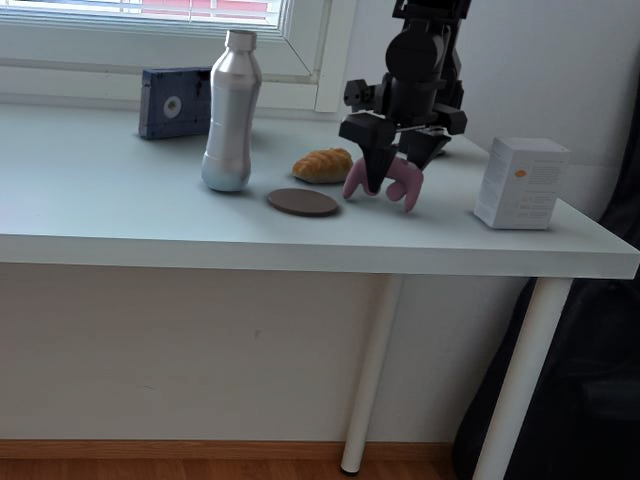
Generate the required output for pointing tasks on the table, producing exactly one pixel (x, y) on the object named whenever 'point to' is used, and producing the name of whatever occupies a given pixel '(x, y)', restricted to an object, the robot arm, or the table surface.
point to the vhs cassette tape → (175, 102)
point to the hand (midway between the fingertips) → (390, 188)
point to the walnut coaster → (302, 202)
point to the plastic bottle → (232, 113)
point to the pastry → (324, 166)
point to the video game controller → (405, 183)
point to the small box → (521, 183)
